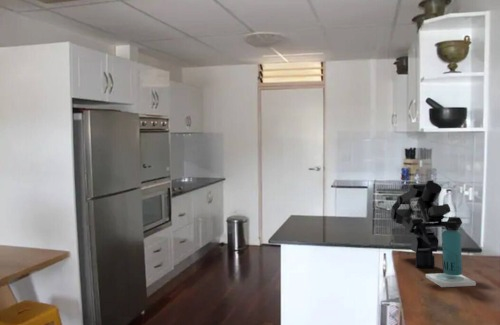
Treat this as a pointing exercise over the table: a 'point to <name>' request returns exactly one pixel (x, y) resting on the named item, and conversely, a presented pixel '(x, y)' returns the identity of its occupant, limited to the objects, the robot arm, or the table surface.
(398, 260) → the table surface
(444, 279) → the pad
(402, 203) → the robot arm
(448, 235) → the beverage bottle
